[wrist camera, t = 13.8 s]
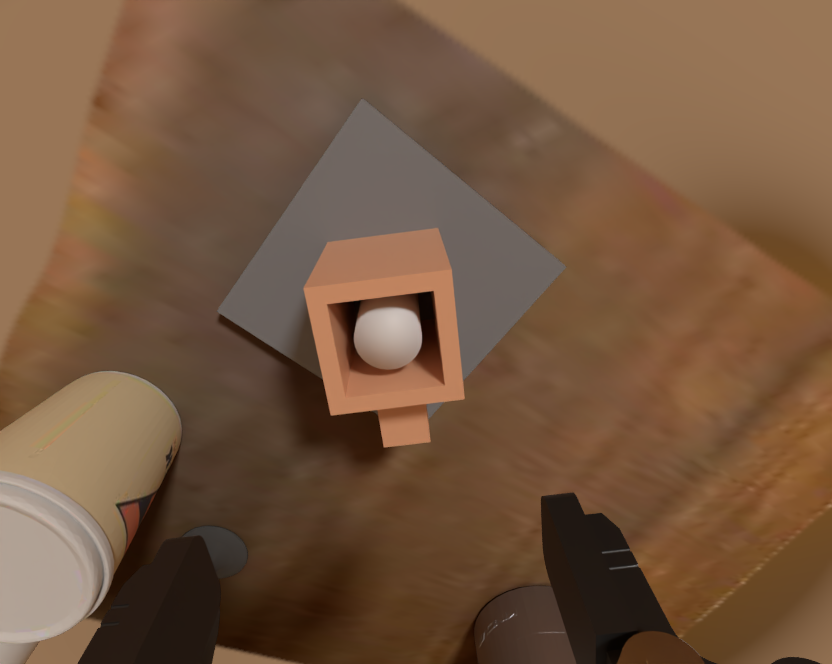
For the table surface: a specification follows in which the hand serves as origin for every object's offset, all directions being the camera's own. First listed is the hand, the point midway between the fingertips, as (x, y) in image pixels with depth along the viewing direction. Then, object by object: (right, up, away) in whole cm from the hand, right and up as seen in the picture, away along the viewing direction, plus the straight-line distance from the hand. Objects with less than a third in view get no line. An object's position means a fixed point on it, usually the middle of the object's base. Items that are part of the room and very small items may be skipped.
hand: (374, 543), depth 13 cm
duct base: (-1, +8, +18) cm, 20 cm away
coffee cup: (-18, -1, +22) cm, 28 cm away
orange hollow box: (0, +6, +18) cm, 19 cm away
